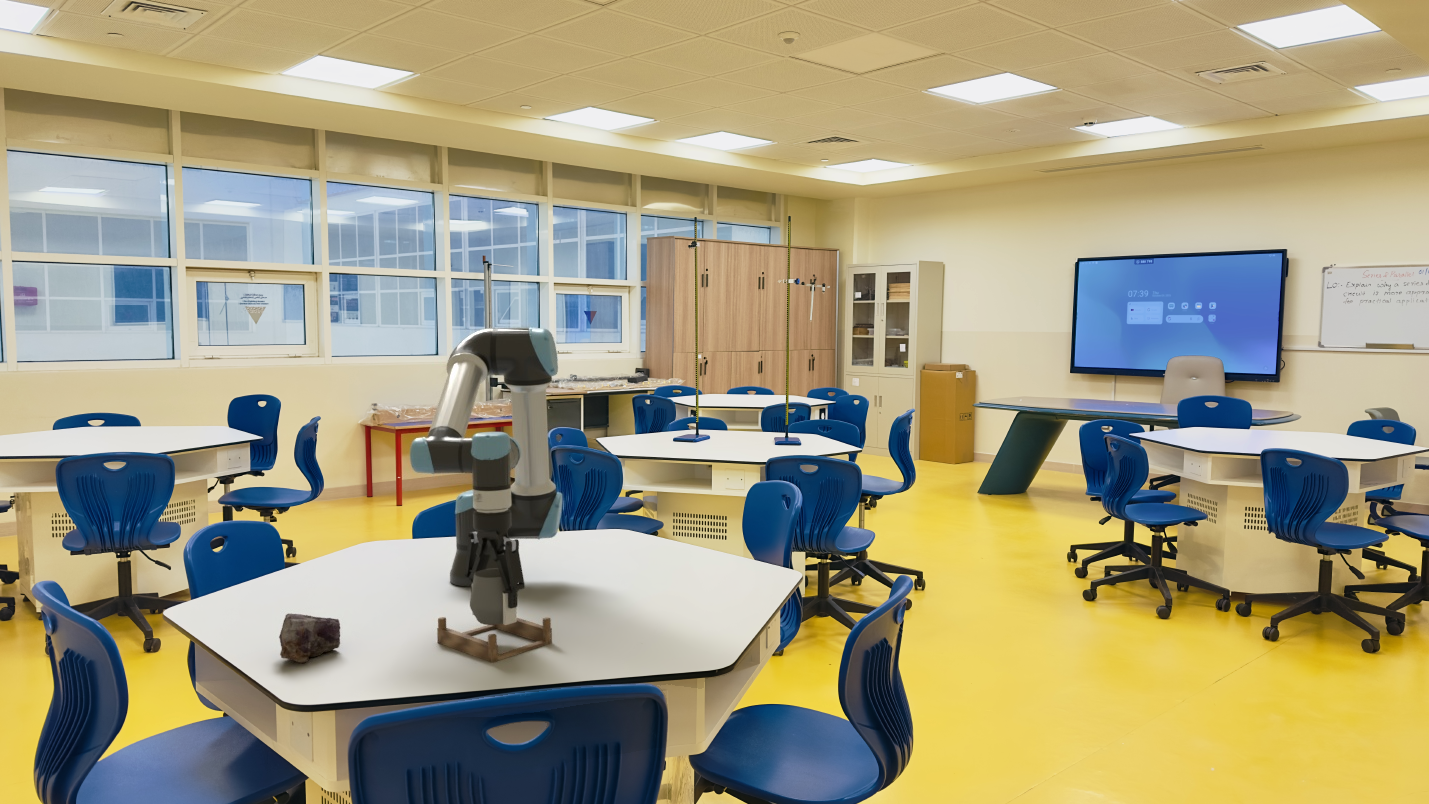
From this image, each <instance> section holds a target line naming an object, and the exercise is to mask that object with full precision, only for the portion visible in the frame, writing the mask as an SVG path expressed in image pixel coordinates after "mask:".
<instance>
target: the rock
mask: <svg viewBox="0 0 1429 804" xmlns="http://www.w3.org/2000/svg"><path fill="white" fill-rule="evenodd" d="M281 626H282V627H281V630H280V634H279V636H278V638H279V642H280V643H279V644H280V647H281V650H280V654H279V655H280V658H281V659H287V660H291V661H295V662H297V663H303V664H305V663H307V662H308V661H309V658H310V657H312V658H313V657H317V656H320V655H322V654H323V653H324V652H325V653H328V652H330V651H333V650H335V649H339V648H340V645H341V639H340V637H341V623H340V620H339V619H338V618H331V617H320V616H312V615H308V614H299V613H286V614H285V617H284V620H283V623H282V625H281Z"/></svg>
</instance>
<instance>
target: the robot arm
mask: <svg viewBox="0 0 1429 804" xmlns="http://www.w3.org/2000/svg"><path fill="white" fill-rule="evenodd" d="M553 336H554V335H553V334H552V332H551V331H550V330H549V329H547V328H545V327H544V328H543V327H541V328H540V327H539V328H538V327H533V326H530V327H529V326H528V327H526V326H525V327H498V328H497V327H486V328H482V329H479V330H477V331H474V332H473V333H471V334H469V335H468V336H466V337H465V338H464V339H463V340H461V341H460V342H459V343H458V345H456V346H455V348H454V349H453V350H452V352H451V353H450V355H449V358H448V360H447V363H446V373H447V377H446V380H445V382H444V385H443V389H442V392H441V395H440V398H439V400H438V403H437V407H436V410H435V413H434V415H433V418H432V422H431V425H430V428H429V431H428V434H427V437H425V436H422V437H416V438H414V439H413V440H412V442H411V443H410V444H411V445H410V450H409V459H410V466H411V468H412V470H413V471H414V472H415V473H420V474H430V475H431V474H432V475H435V474H472V476H471V477H472V489H470V490H467V491H463V492H461V493H460V494H459V495H457V496H456V499H455V511H454V514H455V537H456V544H455V545H456V549H455V550H456V551H455V554H454V559H453V562H452V565H451V569H450V571H449V582H450V583H451V584H452V585H455V586H460V587H470V592H472V585H473V579H474V573H476V572H477V571H480V570H485V569H493V568H498V569H499V572H500V575H501V578H502V581H503V584H504V587H505V591H503V624H504V625H508V624H511V623H515V622H517V618H518V617H517V607H518V591H520V590H523V589H525V586H526V585H525V579H524V574H523V569H522V561H521V557H520V551H519V549H520V548H519V547H520V541H519V540H521V539H523V540H524V539H525V540H527V539H530V540H531V539H532V540H540V539H552V538H554V537H556V535H557V534H558V532H559V528H560V523H561V516H562V509H563V493H562V492H559V491H557V487H556V484H555V483H554V482H553V481H552V480H551V479H550V464H549V463H550V462H549V461H550V459H549V456H550V455H549V435H548V433H549V432H548V430H549V429H548V409H547V407H548V406H547V404H548V403H547V388H548V387H549V385H551V384H552V383H553V377H554V376H556V375H558V372H559V364H558V361H559V360H558V359H559V358H558V354H557V353H558V352H557V346H556V341H555V338H554V337H553ZM489 376H503V384H504V385H505V386H507V388H508V389H509V390H510V398H511V399H510V401H511V402H510V403H511V421H512V422H511V423H512V437H511V436H510V435H509V434H508V433H507V432H503V431H485V432H477V433H474V434H473V436H472V437H465V436H466V433H467V429H468V425H469V422H470V419H471V416H472V412H473V409H474V407H475V406H474V405H475V403H476V402H475V401H476V399H477V396H478V392H479V388H480V386H481V384H483V383H484V381H486V379H487V377H489ZM512 470H514V482H513V483H512V484H511V471H512ZM510 584H511V586H510ZM471 612H472V611H471ZM472 616H475V615H474V614H473V612H472Z"/></svg>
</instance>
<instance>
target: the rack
mask: <svg viewBox="0 0 1429 804" xmlns="http://www.w3.org/2000/svg"><path fill="white" fill-rule="evenodd" d="M551 621H552V619H551V617H542V624H538V623H535V622H532V621H530V620H527V619H523V618H519V617H517V622H515V623H511V624H508V625H504V624H503V623H502V624H498V625H483V626H480V627H477V628H472V629H470V630H466V631H463V632H460V631H457V630H454V629H451V628H449V627H447V617H446V616H444V617H438V618H437V628H436V629H437V632H436V634H437V638H436V639H437V643H438V644H440V645H442V646H445V647H448V648H452V649H454V650H457V651H460V652H463V653H465V654H467V655H471V656H474V657H476V658H478V659H480V660H481V659H482V660H483V661H486V662H489V663H495V662H498V661H501V660H504V659H507V658H509V657H514V656H516V655H518V654H521V653H526V652H528V651H531V650H533V649H537V648H540V647H543V646H546V645H549V644H552V643H553V632H552V631H553V630H552V622H551ZM494 629H498V630H500V631H502V632H503V631H504V632H507V633H510V634H512V635H516V636H519V637H523V638H526V639H529V640H532V641H534V642H532V643H528V644H525V645H522V646H519V647H516V648H514V649H510V650H507V651H504V652H500V653H498V652H499V648H498V646H499V645H498V635H497V634H496V633H490V634H488V635H487V640H484V639H480V638H477V637H475V636H473V635H477V634H480V633H485V632H487V631H491V630H494Z"/></svg>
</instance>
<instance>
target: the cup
mask: <svg viewBox="0 0 1429 804" xmlns="http://www.w3.org/2000/svg"><path fill="white" fill-rule="evenodd" d="M510 586H511V584H510ZM503 591H505V587H504V584H503V581H502V578H501V575H500V572H499V569H498V568H493V569H485V570H480V571H477V572H476V573H474V579H473V585H472V592H471V591H470V592H471V594H470V599H469V600H470V601H469V608H470V610H471V612H473V614H474V615H473V614H472V615H473V616H474V617H475V619H476V621H478V623H480V624H483V625H484V626H487V625H498V624H502V623H503Z"/></svg>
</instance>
